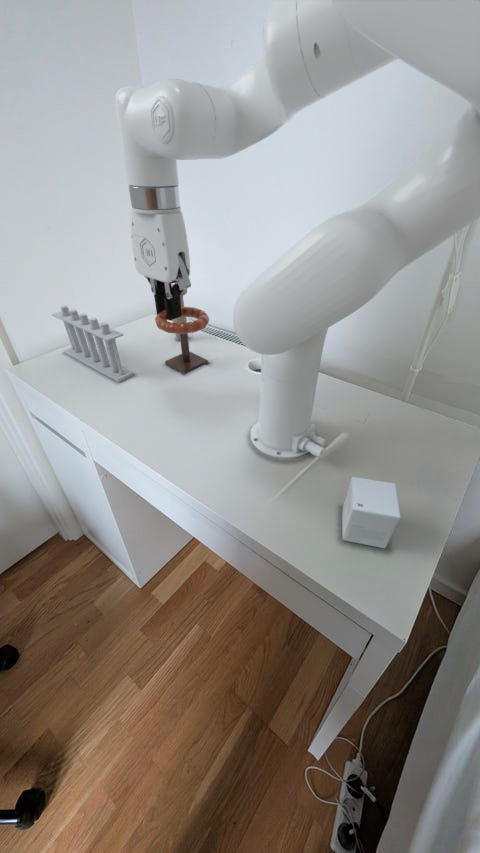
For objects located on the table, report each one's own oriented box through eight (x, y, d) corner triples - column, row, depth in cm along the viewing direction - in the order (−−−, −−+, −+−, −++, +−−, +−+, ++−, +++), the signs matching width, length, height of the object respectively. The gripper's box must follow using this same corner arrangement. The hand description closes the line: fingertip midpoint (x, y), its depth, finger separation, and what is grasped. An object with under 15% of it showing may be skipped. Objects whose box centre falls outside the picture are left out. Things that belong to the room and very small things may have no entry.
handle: (182, 344, 98) (176, 292, 89) (168, 338, 102) (161, 287, 92) (195, 339, 101) (190, 287, 92) (181, 333, 104) (175, 283, 95)
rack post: (208, 363, 90) (205, 323, 83) (185, 374, 85) (180, 333, 78) (188, 354, 94) (184, 315, 87) (165, 364, 89) (159, 324, 82)
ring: (219, 323, 63) (219, 314, 62) (180, 340, 57) (179, 330, 56) (184, 310, 68) (183, 301, 67) (145, 324, 62) (144, 315, 61)
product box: (385, 550, 47) (401, 518, 43) (341, 541, 48) (351, 509, 44) (382, 515, 52) (396, 483, 47) (341, 507, 53) (351, 475, 48)
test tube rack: (133, 375, 85) (121, 324, 76) (118, 382, 82) (104, 330, 74) (79, 347, 97) (64, 301, 89) (65, 353, 94) (48, 305, 86)
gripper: (105, 197, 54) (128, 310, 66) (170, 207, 46) (182, 334, 58) (144, 193, 58) (158, 300, 70) (209, 202, 50) (213, 321, 62)
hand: (169, 315), depth 64 cm, fingers closed on ring, 2 cm apart
